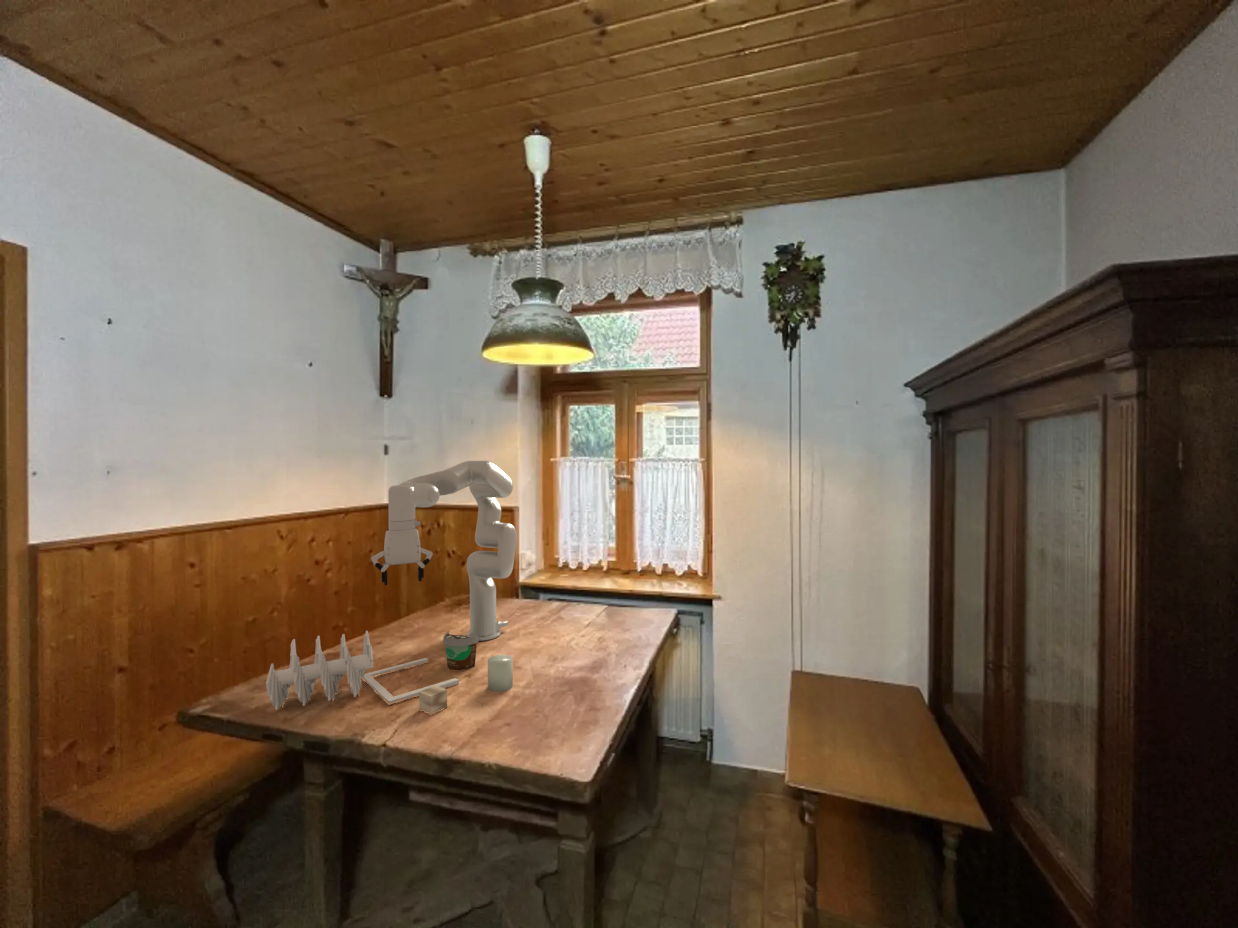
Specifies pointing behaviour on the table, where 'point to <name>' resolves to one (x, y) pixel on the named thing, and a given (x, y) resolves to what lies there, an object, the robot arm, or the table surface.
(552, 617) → the table surface
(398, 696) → the corral
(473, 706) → the table surface
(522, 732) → the table surface
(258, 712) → the table surface
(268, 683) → the spiral staircase
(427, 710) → the birch block
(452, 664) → the food container
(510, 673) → the pale green cylinder
